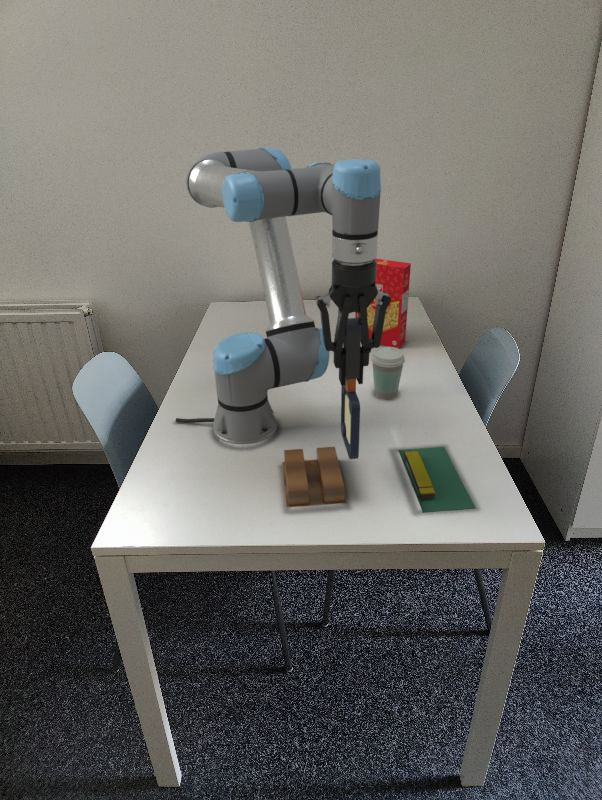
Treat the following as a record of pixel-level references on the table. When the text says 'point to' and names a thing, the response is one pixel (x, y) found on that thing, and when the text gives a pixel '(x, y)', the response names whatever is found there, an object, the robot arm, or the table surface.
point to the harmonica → (419, 474)
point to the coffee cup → (387, 371)
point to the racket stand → (312, 478)
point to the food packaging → (396, 284)
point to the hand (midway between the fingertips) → (350, 381)
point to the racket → (351, 388)
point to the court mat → (440, 481)
